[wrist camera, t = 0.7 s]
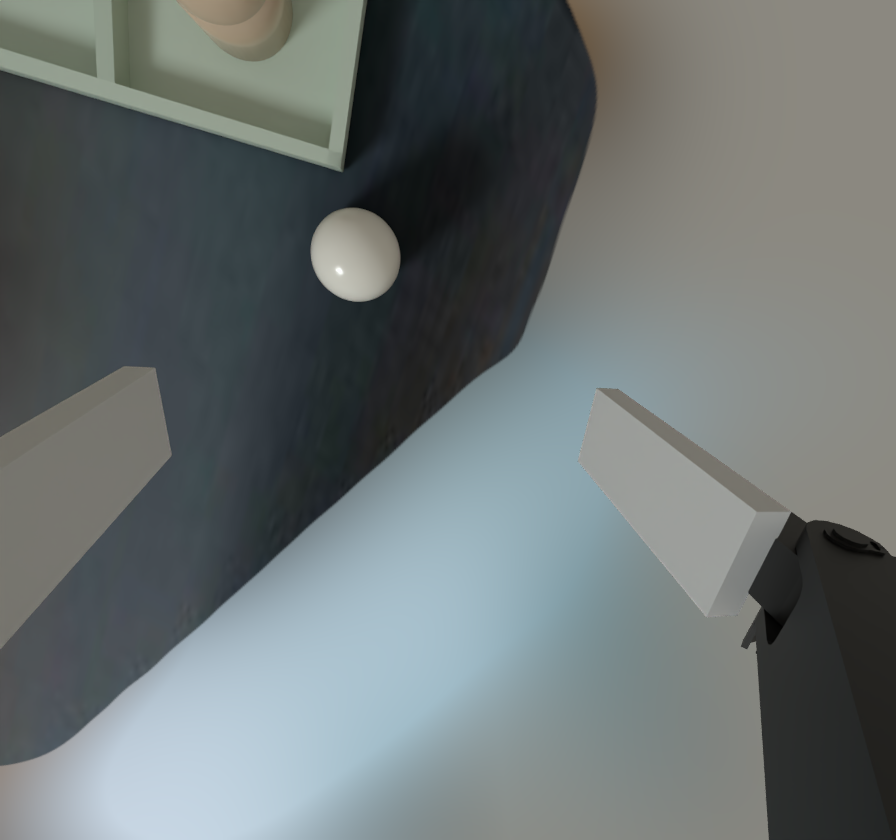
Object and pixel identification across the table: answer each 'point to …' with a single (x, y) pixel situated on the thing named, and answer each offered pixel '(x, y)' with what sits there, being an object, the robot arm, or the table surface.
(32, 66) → the green divided tray
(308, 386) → the table surface
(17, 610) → the robot arm
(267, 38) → the egg brown
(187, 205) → the table surface
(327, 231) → the egg white
